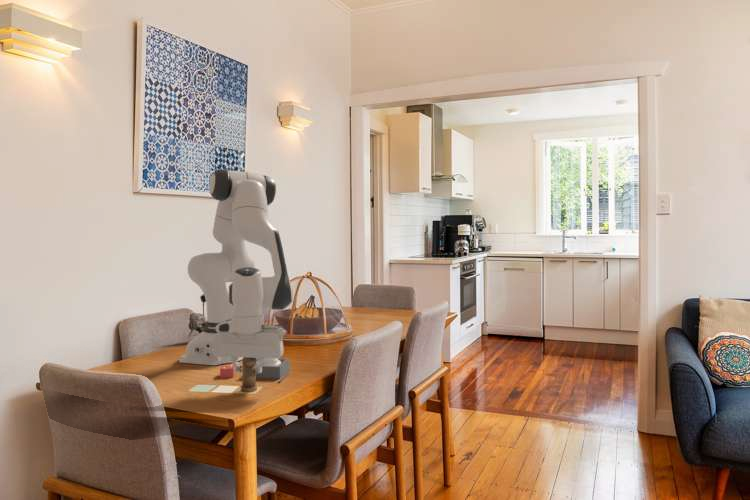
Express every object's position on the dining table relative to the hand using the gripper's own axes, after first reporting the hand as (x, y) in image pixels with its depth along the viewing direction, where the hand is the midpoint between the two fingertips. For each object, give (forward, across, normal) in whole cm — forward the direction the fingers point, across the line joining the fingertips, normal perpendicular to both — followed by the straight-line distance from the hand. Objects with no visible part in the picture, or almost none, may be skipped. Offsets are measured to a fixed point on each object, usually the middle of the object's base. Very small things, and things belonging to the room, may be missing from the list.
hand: (248, 372), depth 163 cm
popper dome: (+5, 0, -18) cm, 19 cm away
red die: (+6, +12, -14) cm, 20 cm away
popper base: (+6, 0, -18) cm, 19 cm away
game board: (+6, +7, 0) cm, 9 cm away
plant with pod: (+7, +46, -70) cm, 84 cm away
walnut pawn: (+5, 0, 0) cm, 5 cm away
